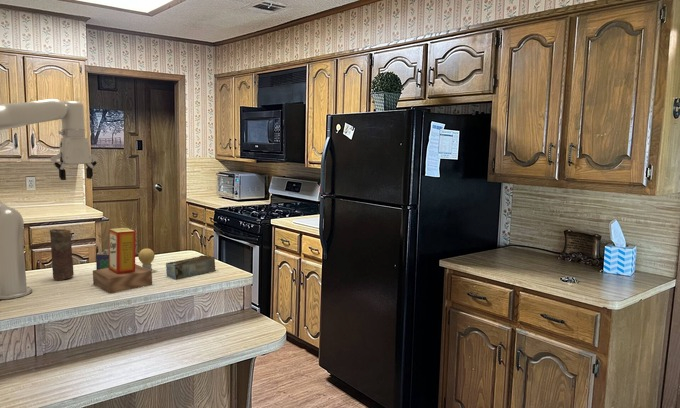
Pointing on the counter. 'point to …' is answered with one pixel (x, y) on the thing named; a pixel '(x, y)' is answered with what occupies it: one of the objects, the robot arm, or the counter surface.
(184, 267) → the grey rectangular block
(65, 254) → the candle
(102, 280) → the walnut riser block
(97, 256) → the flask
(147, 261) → the light bulb
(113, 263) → the baking soda box
